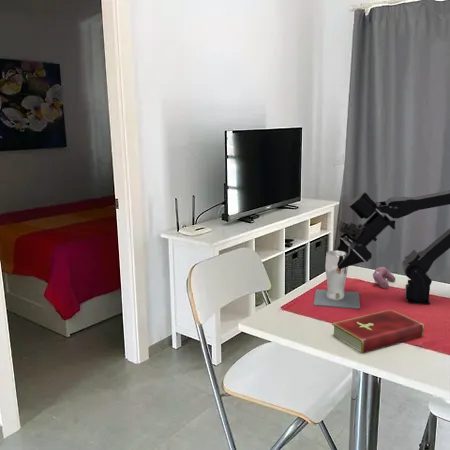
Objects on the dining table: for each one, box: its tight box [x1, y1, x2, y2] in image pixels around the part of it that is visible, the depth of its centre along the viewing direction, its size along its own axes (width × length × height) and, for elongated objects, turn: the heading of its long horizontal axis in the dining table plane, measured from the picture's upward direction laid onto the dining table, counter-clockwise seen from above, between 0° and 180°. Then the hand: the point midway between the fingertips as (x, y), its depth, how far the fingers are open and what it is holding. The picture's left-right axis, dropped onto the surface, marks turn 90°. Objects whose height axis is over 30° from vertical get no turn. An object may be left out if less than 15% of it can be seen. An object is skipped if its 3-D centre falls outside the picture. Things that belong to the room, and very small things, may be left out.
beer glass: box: [324, 249, 349, 301], centre depth 156 cm, size 7×7×15 cm
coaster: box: [313, 289, 361, 310], centre depth 157 cm, size 14×14×1 cm
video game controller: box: [372, 266, 396, 290], centre depth 170 cm, size 10×5×7 cm, turn 146°
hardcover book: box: [331, 308, 425, 354], centre depth 130 cm, size 12×21×4 cm, turn 116°
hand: (334, 263), depth 154 cm, fingers open, 9 cm apart
